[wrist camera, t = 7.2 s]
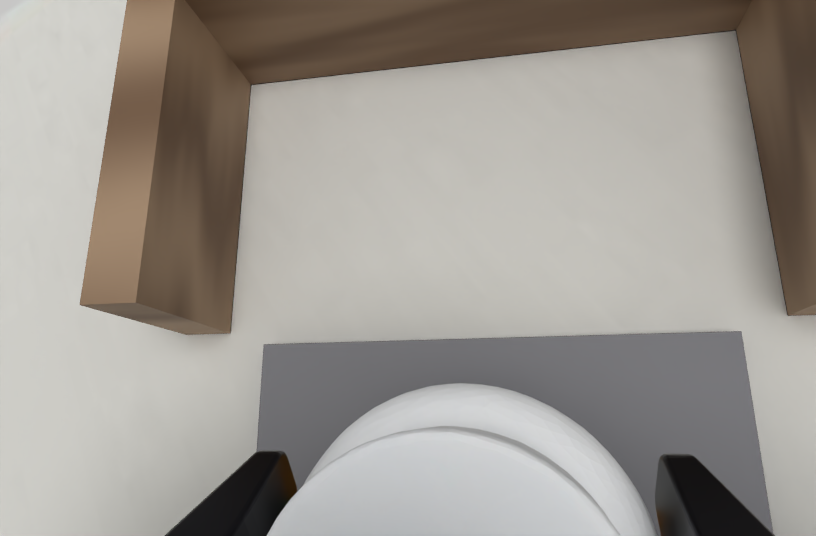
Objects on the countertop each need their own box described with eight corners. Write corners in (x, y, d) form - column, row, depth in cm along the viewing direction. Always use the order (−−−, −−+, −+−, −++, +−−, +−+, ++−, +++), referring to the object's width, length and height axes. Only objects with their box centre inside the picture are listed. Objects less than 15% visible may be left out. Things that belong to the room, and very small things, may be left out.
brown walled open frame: (851, 313, 16) (1036, 251, 10) (186, 334, 19) (49, 296, 14) (781, -18, 19) (895, -210, 13) (215, 52, 22) (112, -75, 17)
